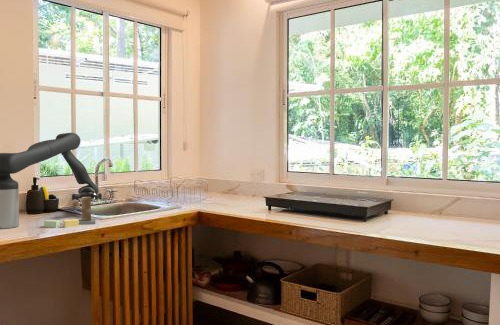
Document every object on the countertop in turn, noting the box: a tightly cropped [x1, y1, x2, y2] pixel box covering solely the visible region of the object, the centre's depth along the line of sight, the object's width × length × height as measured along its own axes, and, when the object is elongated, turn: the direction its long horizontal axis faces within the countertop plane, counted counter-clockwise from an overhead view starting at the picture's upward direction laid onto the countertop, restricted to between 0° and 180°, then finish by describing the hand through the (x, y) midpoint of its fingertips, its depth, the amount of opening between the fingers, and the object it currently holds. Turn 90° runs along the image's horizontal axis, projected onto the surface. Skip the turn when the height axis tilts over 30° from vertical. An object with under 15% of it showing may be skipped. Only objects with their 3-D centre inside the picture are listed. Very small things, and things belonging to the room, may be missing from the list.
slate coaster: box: [77, 218, 97, 226], centre depth 211 cm, size 8×8×1 cm
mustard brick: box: [62, 218, 80, 228], centre depth 203 cm, size 6×3×3 cm, turn 133°
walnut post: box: [81, 197, 92, 221], centre depth 211 cm, size 4×4×11 cm
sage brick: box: [43, 219, 61, 229], centre depth 201 cm, size 6×3×3 cm, turn 82°
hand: (86, 198), depth 221 cm, fingers open, 8 cm apart
